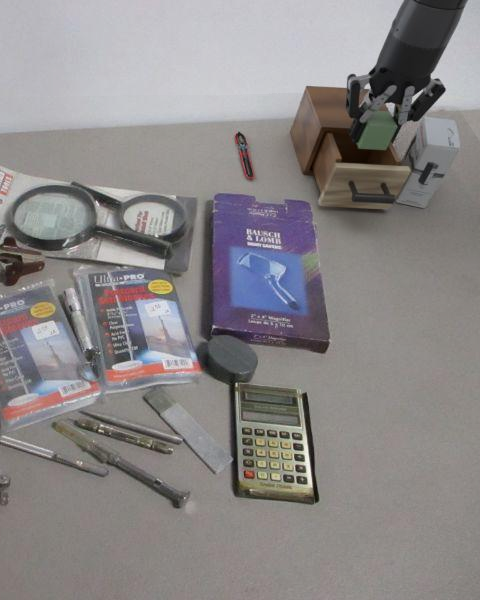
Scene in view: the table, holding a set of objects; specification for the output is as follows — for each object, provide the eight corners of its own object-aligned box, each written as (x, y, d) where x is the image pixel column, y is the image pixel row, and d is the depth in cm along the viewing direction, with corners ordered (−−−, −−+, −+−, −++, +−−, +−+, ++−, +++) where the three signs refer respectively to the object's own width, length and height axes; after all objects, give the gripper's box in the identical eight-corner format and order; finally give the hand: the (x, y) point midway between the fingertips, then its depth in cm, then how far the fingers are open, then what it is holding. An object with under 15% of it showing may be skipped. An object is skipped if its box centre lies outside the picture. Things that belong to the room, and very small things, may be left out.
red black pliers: (244, 180, 101) (245, 177, 101) (233, 133, 111) (233, 130, 110) (256, 181, 101) (257, 178, 101) (243, 133, 111) (244, 130, 110)
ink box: (392, 172, 104) (424, 113, 95) (422, 178, 103) (457, 119, 94) (394, 203, 99) (427, 143, 90) (425, 209, 98) (462, 149, 89)
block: (378, 134, 94) (389, 111, 91) (385, 150, 92) (397, 126, 88) (351, 133, 94) (362, 109, 91) (358, 148, 92) (369, 125, 88)
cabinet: (375, 178, 103) (399, 130, 96) (302, 174, 103) (321, 126, 96) (356, 136, 111) (378, 89, 104) (289, 132, 111) (306, 85, 104)
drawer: (397, 227, 94) (420, 189, 88) (325, 224, 94) (343, 185, 88) (370, 166, 104) (389, 127, 98) (305, 162, 104) (320, 124, 98)
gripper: (374, 43, 77) (328, 152, 90) (484, 48, 77) (422, 157, 90) (360, 16, 82) (318, 124, 95) (463, 22, 82) (407, 129, 95)
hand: (369, 140), depth 93 cm, fingers closed on block, 4 cm apart
